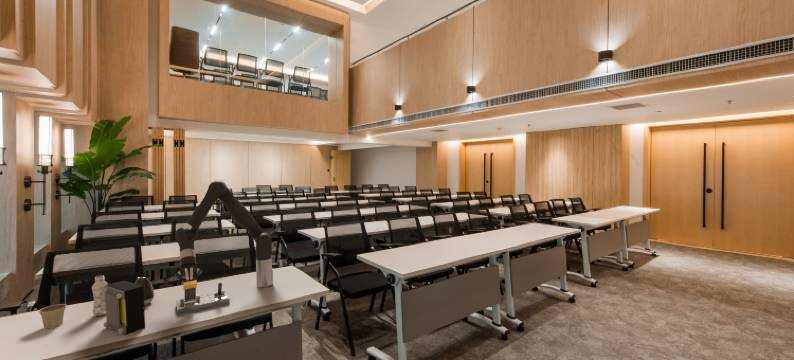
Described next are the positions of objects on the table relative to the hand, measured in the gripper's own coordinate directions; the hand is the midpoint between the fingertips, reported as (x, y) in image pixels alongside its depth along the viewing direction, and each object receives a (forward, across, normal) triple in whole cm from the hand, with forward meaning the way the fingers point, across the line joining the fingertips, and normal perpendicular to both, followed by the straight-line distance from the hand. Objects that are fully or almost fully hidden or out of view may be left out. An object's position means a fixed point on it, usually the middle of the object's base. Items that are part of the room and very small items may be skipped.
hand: (189, 287), depth 178 cm
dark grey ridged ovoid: (-7, -21, +25) cm, 34 cm away
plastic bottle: (-5, -38, +22) cm, 44 cm away
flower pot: (-3, -55, +21) cm, 59 cm away
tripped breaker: (+4, 0, +7) cm, 8 cm away
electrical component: (+13, -27, +4) cm, 30 cm away
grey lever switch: (+7, +6, +10) cm, 13 cm away
